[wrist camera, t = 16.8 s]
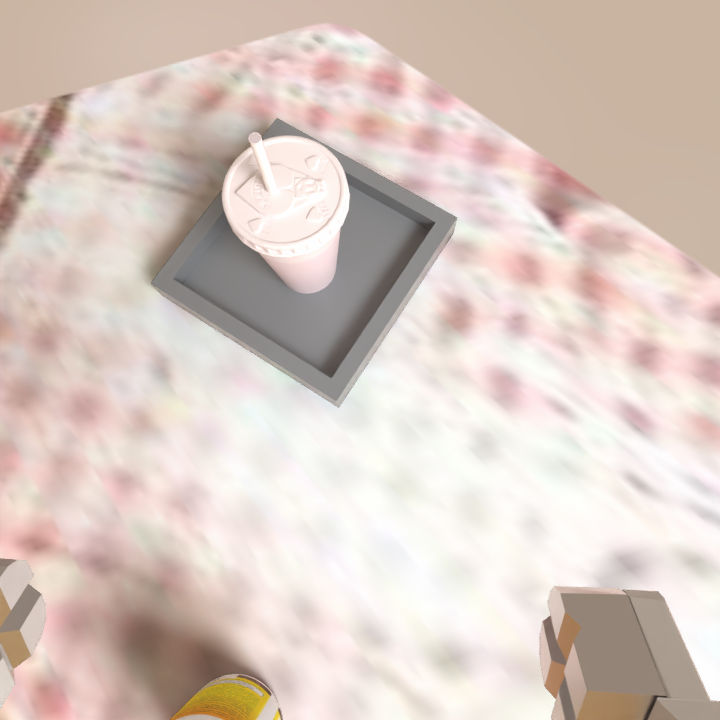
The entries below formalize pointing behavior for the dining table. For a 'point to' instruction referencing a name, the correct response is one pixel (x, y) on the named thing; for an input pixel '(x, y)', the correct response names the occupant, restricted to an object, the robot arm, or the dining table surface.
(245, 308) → the tray
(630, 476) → the dining table surface
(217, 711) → the supplement bottle
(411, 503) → the dining table surface
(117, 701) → the dining table surface
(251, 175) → the smoothie
